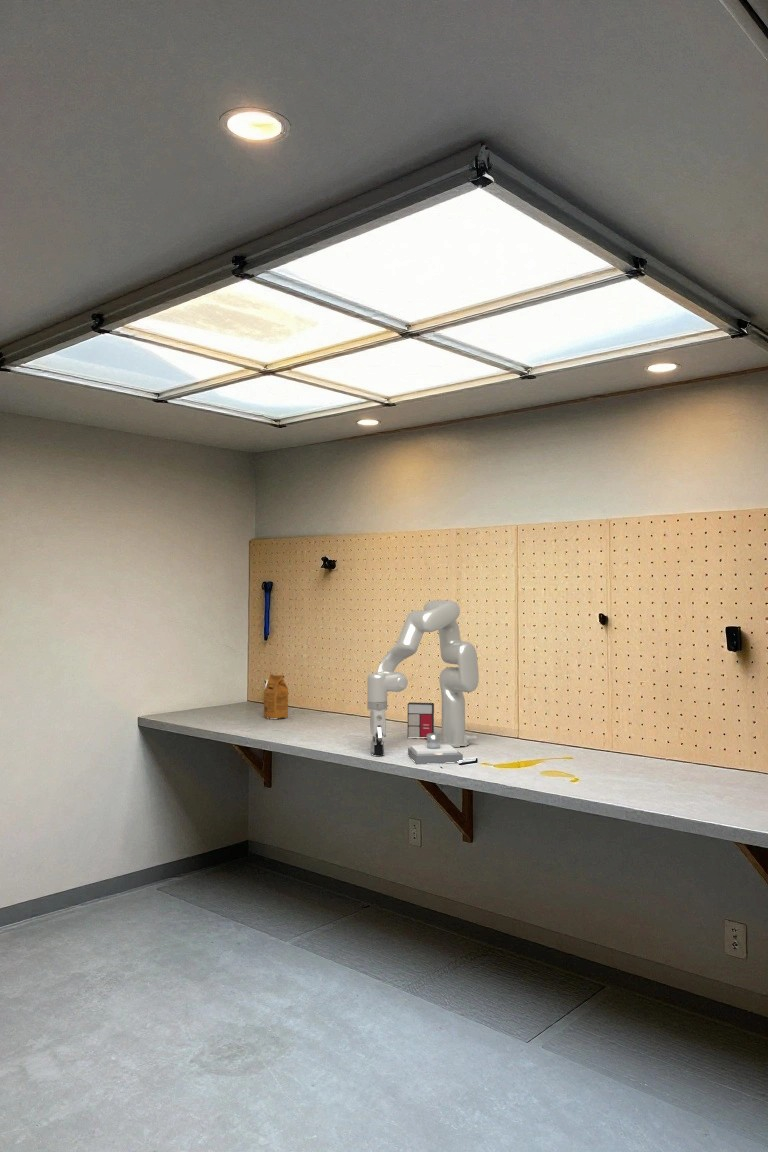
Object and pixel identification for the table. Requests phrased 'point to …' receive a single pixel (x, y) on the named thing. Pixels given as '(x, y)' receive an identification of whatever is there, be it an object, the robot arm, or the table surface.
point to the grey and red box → (420, 719)
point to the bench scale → (434, 754)
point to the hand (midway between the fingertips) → (377, 753)
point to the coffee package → (276, 697)
